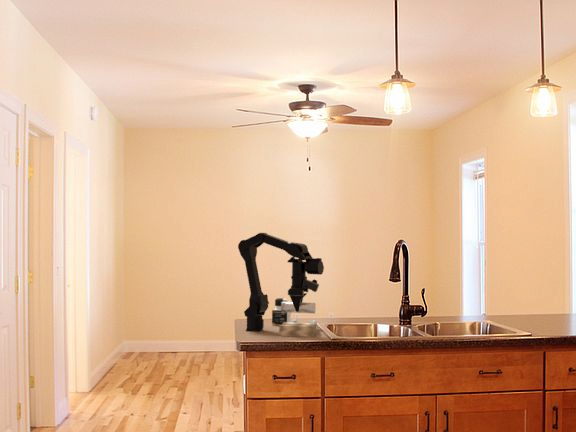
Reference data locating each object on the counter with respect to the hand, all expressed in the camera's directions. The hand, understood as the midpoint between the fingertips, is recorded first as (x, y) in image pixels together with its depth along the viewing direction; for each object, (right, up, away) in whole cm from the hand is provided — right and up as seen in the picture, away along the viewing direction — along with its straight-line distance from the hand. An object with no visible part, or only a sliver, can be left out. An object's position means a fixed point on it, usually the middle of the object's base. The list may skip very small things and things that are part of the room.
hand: (298, 310), depth 286 cm
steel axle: (0, +1, 0) cm, 1 cm away
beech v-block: (0, -10, 0) cm, 10 cm away
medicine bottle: (-7, -11, +30) cm, 32 cm away
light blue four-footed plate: (+2, -10, +12) cm, 15 cm away
